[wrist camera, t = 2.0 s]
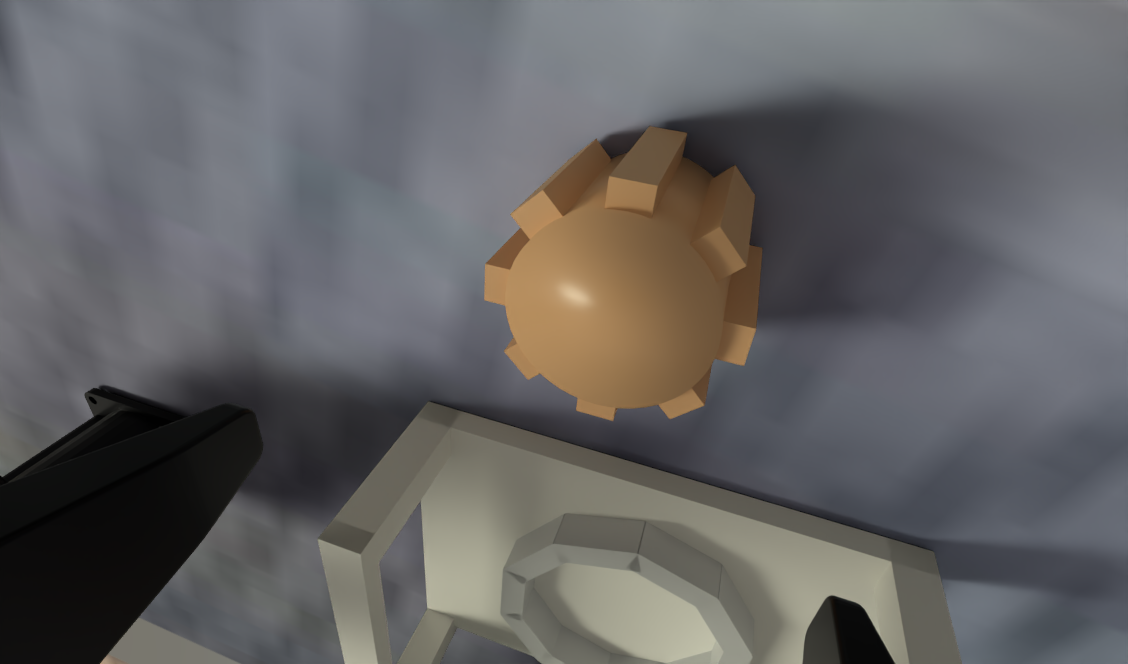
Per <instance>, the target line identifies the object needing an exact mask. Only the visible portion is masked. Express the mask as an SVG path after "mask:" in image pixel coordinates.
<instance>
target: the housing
mask: <svg viewBox="0 0 1128 664" xmlns="http://www.w3.org/2000/svg"><path fill="white" fill-rule="evenodd" d="M420 501H421V511H422V527H423V544H424V560H425V576H426V593H427V610H426V612H425V614H424V615H423V617H422V619H421V621H420V623H419V625H418V626H417V628H416V630H415V632H414V634H413V635H412V637H411V639H410V641H409V643H408V645H407V646H406V648H405V650H404V652H403V654H402V655H401V657H400V659H399V661H398V663H397V664H440V662H441V660H442V658H443V656H444V654H445V652H446V650H447V648H448V646H449V644H450V642H451V640H452V638H453V636H454V634H455V631H456V629H457V628H460V629H463V630H465V631H468V632H471V633H473V634H476V635H479V636H481V637H484V638H486V639H489V640H492V641H494V642H497V643H500V644H502V645H505V646H508V647H510V648H513V649H516V650H518V651H521V652H523V653H526V654H529V655H531V656H534V657H535V659H536V660H538V661H539V662H540V663H542V664H802V663H803V650H804V641H805V635H806V632H807V629H808V627H809V625H810V623H811V622H812V620H813V618H814V616H815V615H816V613H817V611H818V610H819V608H820V606H821V605H822V603H823V601H824V600H825V599H826V598H827V597H828V596H831V595H833V596H837V597H840V598H843V599H847V600H850V601H853V602H856V603H858V604H860V605H861V606H862V607H863V608H864V609H865V611H866V612H867V614H868V616H869V618H870V619H871V621H872V623H873V625H874V626H875V628H876V630H877V632H878V634H879V635H880V637H881V639H882V641H883V643H884V644H885V646H886V648H887V650H888V651H889V653H890V655H891V657H892V659H893V660H894V662H895V664H962V661H961V657H960V653H959V649H958V645H957V641H956V637H955V633H954V629H953V626H952V622H951V618H950V614H949V610H948V606H947V602H946V598H945V594H944V590H943V586H942V582H941V578H940V574H939V570H938V566H937V562H936V558H935V554H934V552H933V551H930V550H927V549H923V548H920V547H916V546H913V545H910V544H906V543H903V542H900V541H896V540H893V539H890V538H886V537H883V536H879V535H876V534H873V533H869V532H866V531H863V530H859V529H856V528H853V527H849V526H846V525H842V524H839V523H836V522H832V521H829V520H826V519H822V518H819V517H816V516H812V515H809V514H805V513H802V512H799V511H795V510H792V509H789V508H785V507H782V506H779V505H775V504H772V503H768V502H765V501H762V500H758V499H755V498H752V497H748V496H745V495H742V494H738V493H735V492H731V491H728V490H725V489H721V488H718V487H715V486H711V485H708V484H704V483H701V482H698V481H694V480H691V479H688V478H684V477H681V476H678V475H674V474H671V473H667V472H664V471H661V470H657V469H654V468H651V467H647V466H644V465H641V464H637V463H634V462H630V461H627V460H624V459H620V458H617V457H614V456H610V455H607V454H604V453H600V452H597V451H593V450H590V449H587V448H583V447H580V446H577V445H573V444H570V443H567V442H563V441H560V440H556V439H553V438H550V437H546V436H543V435H540V434H536V433H533V432H530V431H526V430H523V429H519V428H516V427H513V426H509V425H506V424H503V423H499V422H496V421H493V420H489V419H486V418H482V417H479V416H476V415H472V414H469V413H466V412H462V411H459V410H456V409H452V408H449V407H445V406H442V405H439V404H435V403H432V402H429V401H428V402H427V404H426V405H425V406H424V407H423V409H422V410H421V411H420V412H419V413H418V415H417V416H416V417H415V418H414V420H413V421H412V422H411V423H410V425H409V426H408V427H407V428H406V430H405V431H404V432H403V433H402V435H401V436H400V437H399V438H398V440H397V441H396V442H395V443H394V444H393V446H392V447H391V448H390V449H389V451H388V452H387V453H386V454H385V456H384V457H383V458H382V459H381V461H380V462H379V463H378V464H377V466H376V467H375V468H374V469H373V471H372V472H371V473H370V474H369V475H368V477H367V478H366V479H365V480H364V482H363V483H362V484H361V485H360V487H359V488H358V489H357V490H356V492H355V493H354V494H353V495H352V497H351V498H350V499H349V500H348V502H347V503H346V504H345V505H344V506H343V508H342V509H341V510H340V511H339V513H338V514H337V515H336V516H335V518H334V519H333V520H332V521H331V523H330V524H329V525H328V526H327V528H326V529H325V530H324V531H323V533H322V534H321V535H320V536H319V537H318V543H319V548H320V553H321V557H322V562H323V566H324V571H325V575H326V580H327V584H328V589H329V593H330V598H331V602H332V607H333V612H334V616H335V621H336V625H337V630H338V634H339V639H340V643H341V648H342V652H343V657H344V662H345V664H392V658H391V650H390V642H389V635H388V627H387V620H386V612H385V605H384V597H383V590H382V582H381V575H380V567H379V562H380V560H381V559H382V557H383V556H384V554H385V553H386V551H387V550H388V548H389V547H390V545H391V544H392V542H393V541H394V539H395V538H396V536H397V535H398V533H399V532H400V531H401V529H402V528H403V526H404V525H405V523H406V522H407V520H408V519H409V517H410V516H411V514H412V513H413V511H414V510H415V508H416V507H417V505H418V504H419V502H420Z"/></svg>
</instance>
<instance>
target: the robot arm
mask: <svg viewBox="0 0 1128 664" xmlns="http://www.w3.org/2000/svg"><path fill="white" fill-rule="evenodd" d="M85 398H86V400H87V403H88V405H89V407H90V409H91V411H92V413H93V415H94V417H93V418H91V419H90V420H88V421H87V422H85V423H84V424H82V425H81V426H79V427H78V428H76V429H75V430H73V431H71V432H70V433H68V434H67V435H65V436H64V437H62V438H61V439H59V440H58V441H56V442H55V443H53V444H52V445H50V446H49V447H47V448H46V449H44V450H43V451H41V452H40V453H38V454H37V455H35V456H34V457H32V458H31V459H29V460H28V461H26V462H25V463H23V464H22V465H20V466H19V467H17V468H16V469H14V470H13V471H11V472H10V473H8V474H7V475H5V476H4V477H1V476H0V664H100V663H101V662H102V661H103V659H104V658H105V657H106V656H107V655H108V653H109V652H110V651H111V650H112V649H113V647H114V646H115V645H116V644H117V643H118V641H119V640H120V639H121V638H122V637H123V635H124V634H125V633H126V632H127V631H128V629H129V628H130V627H131V626H132V625H133V623H134V622H135V621H136V620H137V619H138V618H139V616H140V615H141V614H142V613H143V612H144V610H145V609H146V608H147V607H148V606H149V604H150V603H151V602H152V601H153V600H154V598H155V597H156V596H157V595H158V594H159V592H160V591H161V590H162V589H163V588H164V586H165V585H166V584H167V583H168V582H169V580H170V579H171V578H172V577H173V576H174V574H175V573H176V572H177V571H178V570H179V568H180V567H181V566H182V565H183V564H184V562H185V561H186V560H187V559H188V558H189V557H190V555H191V554H192V553H193V552H194V550H195V549H196V548H197V547H198V545H199V544H200V543H201V542H202V540H203V539H204V538H205V536H206V535H207V534H208V532H209V531H210V530H211V528H212V527H213V526H214V524H215V523H216V521H217V520H218V518H219V517H220V515H221V514H222V512H223V511H224V510H225V508H226V507H227V505H228V504H229V502H230V501H231V499H232V498H233V497H234V495H235V494H236V492H237V491H238V489H239V488H240V486H241V485H242V483H243V482H244V481H245V479H246V478H247V476H248V475H249V473H250V472H251V470H252V469H253V468H254V466H255V465H256V463H257V462H258V460H259V458H260V456H261V454H262V451H263V441H262V438H261V434H260V430H259V426H258V422H257V418H256V415H255V413H254V412H253V411H252V410H251V409H250V408H247V407H244V406H241V405H237V404H234V403H225V404H222V405H219V406H216V407H213V408H211V409H208V410H205V411H203V412H200V413H197V414H194V415H192V416H189V417H186V418H184V417H181V416H178V415H175V414H172V413H169V412H166V411H163V410H160V409H157V408H154V407H151V406H148V405H145V404H142V403H139V402H136V401H133V400H130V399H127V398H124V397H121V396H118V395H115V394H112V393H109V392H106V391H103V390H100V389H97V388H93V389H91V390H90V391H88V392H86V393H85ZM802 664H895V662H894V660H893V659H892V657H891V655H890V653H889V651H888V650H887V648H886V646H885V644H884V643H883V641H882V639H881V637H880V635H879V634H878V632H877V630H876V628H875V626H874V625H873V623H872V621H871V619H870V618H869V616H868V614H867V612H866V611H865V609H864V608H863V607H862V606H861V605H860V604H858V603H856V602H853V601H850V600H847V599H843V598H840V597H837V596H833V595H831V596H828V597H827V598H826V599H825V600H824V601H823V603H822V605H821V606H820V608H819V610H818V611H817V613H816V615H815V616H814V618H813V620H812V622H811V623H810V625H809V627H808V629H807V632H806V635H805V641H804V650H803V663H802Z"/></svg>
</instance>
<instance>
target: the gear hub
mask: <svg viewBox="0 0 1128 664" xmlns="http://www.w3.org/2000/svg"><path fill="white" fill-rule="evenodd" d="M686 137H687V133H685V132H679V131H674V130H668V129H662V128H657V127H651V126H649V127H648V129H647V130H646V131H645V132H644V134H643V135H642V136H641V137H640V139H639V140H638V141H637V142H636V143H635V145H634V146H633V147H632V148H631V150H630V151H629V152H628V153H625V154H621V155H618V156H616V157H614V158H612V159H610V157H609V156H608V154H607V153H606V152H605V150H604V149H603V147H602V146H601V145H600V143H599V142H598V140H597V139H595V140H594V141H593V142H591V143H590V144H589V145H587V146H586V147H585V148H584V149H582V150H581V151H580V152H578V153H577V154H576V155H574V156H573V157H572V158H570V159H569V160H568V161H567V162H566V163H565V164H564V165H563V166H562V167H561V168H559V169H558V170H557V171H556V172H555V173H554V174H553V175H552V176H551V177H550V178H549V179H548V180H547V181H545V182H544V183H543V184H542V185H541V186H540V187H539V188H538V189H537V190H536V191H535V192H534V193H533V194H532V195H530V196H529V197H528V198H527V199H526V200H525V201H524V202H523V203H522V204H521V205H520V206H519V207H518V208H516V209H515V210H514V211H513V212H512V213H511V214H510V215H511V216H512V217H513V218H514V220H515V221H516V222H517V224H518V225H519V226H520V227H521V228H520V229H519V230H518V231H517V232H516V233H515V234H514V235H513V236H512V237H511V238H510V239H509V240H508V241H507V242H506V243H505V244H504V245H503V246H502V247H501V248H500V249H499V250H498V251H497V252H496V254H495V255H494V256H493V257H492V258H491V259H490V260H489V261H488V262H487V263H486V264H485V299H484V300H486V301H490V302H494V303H498V304H502V305H505V306H506V313H507V319H508V322H509V325H510V329H511V331H512V334H513V336H514V338H513V339H512V341H511V342H510V343H509V345H508V346H507V348H506V349H505V350H504V352H505V353H506V354H507V355H508V357H509V358H510V359H511V360H512V361H513V363H514V364H515V365H516V366H517V367H518V368H519V370H520V371H521V372H522V373H523V374H524V376H525V377H526V378H527V379H528V380H529V379H531V378H533V377H534V376H536V375H538V374H542V375H543V376H544V377H545V378H546V379H547V380H548V381H550V382H551V383H553V384H554V385H555V386H557V387H558V388H560V389H562V390H563V391H565V392H567V393H569V394H570V395H573V396H575V397H577V398H578V400H577V407H576V411H579V412H583V413H586V414H590V415H593V416H597V417H600V418H604V419H608V420H611V421H613V419H614V417H615V414H616V411H617V409H618V408H643V407H649V406H654V405H659V406H660V408H661V409H662V410H663V411H664V413H665V414H666V415H667V417H668V418H669V419H672V418H674V417H677V416H679V415H682V414H684V413H687V412H689V411H692V410H694V409H697V408H699V407H702V406H705V400H706V395H707V389H708V384H709V378H710V373H711V367H712V363H713V361H714V359H718V360H722V361H726V362H730V363H734V364H738V365H742V366H744V364H745V361H746V358H747V355H748V352H749V349H750V346H751V343H752V340H753V337H754V334H755V331H756V325H757V313H758V300H759V287H760V275H761V262H762V249H763V248H761V247H756V246H752V245H749V243H750V235H751V227H752V219H753V211H754V203H755V195H754V193H753V191H752V190H751V188H750V187H749V185H748V184H747V182H746V181H745V179H744V177H743V176H742V174H741V173H740V171H739V170H738V168H737V167H736V165H734V166H732V167H731V168H729V169H727V170H726V171H724V172H723V173H721V174H719V175H718V176H716V177H715V178H714V177H713V176H712V175H711V174H710V173H709V172H707V171H706V170H705V169H703V168H702V167H701V166H700V165H698V164H696V163H694V162H693V161H691V160H689V159H687V158H684V157H682V156H683V151H684V147H685V142H686Z"/></svg>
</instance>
